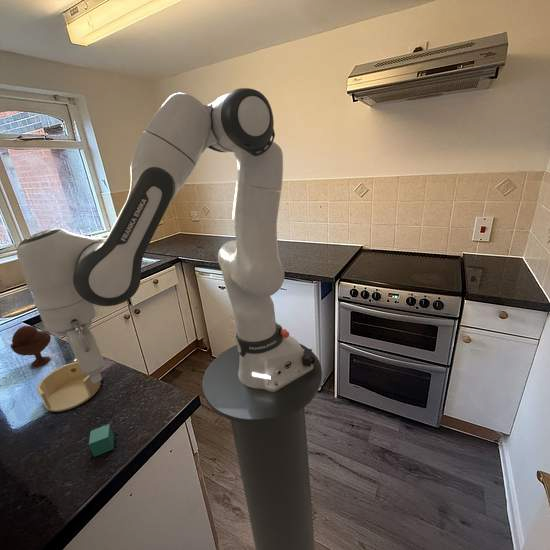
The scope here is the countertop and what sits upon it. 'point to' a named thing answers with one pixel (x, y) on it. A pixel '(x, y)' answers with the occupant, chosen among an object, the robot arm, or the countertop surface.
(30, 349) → the ice cream bowl
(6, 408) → the countertop surface
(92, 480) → the countertop surface
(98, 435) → the block
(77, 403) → the tan scoop with handle
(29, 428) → the countertop surface
